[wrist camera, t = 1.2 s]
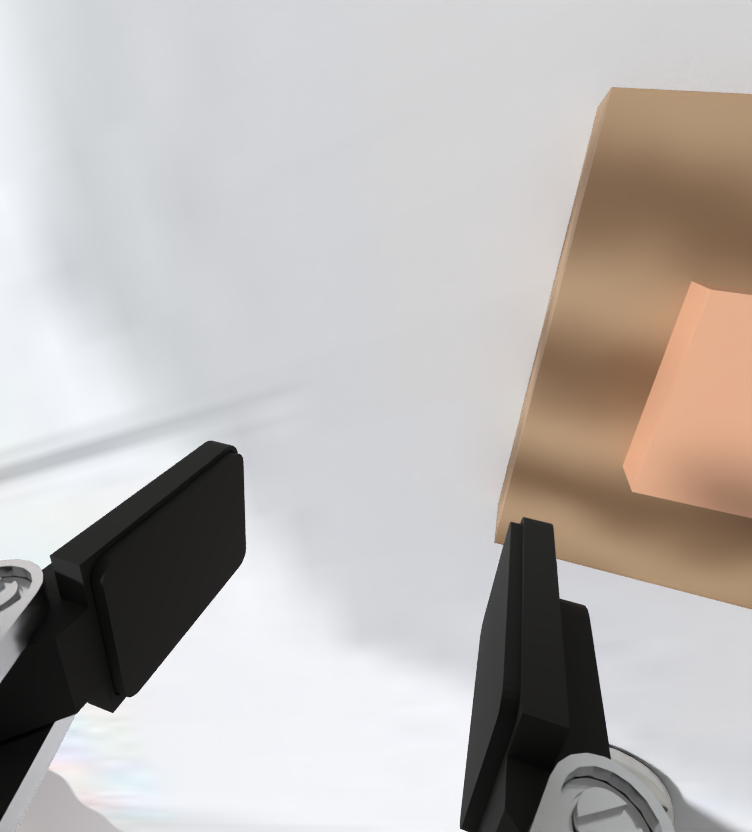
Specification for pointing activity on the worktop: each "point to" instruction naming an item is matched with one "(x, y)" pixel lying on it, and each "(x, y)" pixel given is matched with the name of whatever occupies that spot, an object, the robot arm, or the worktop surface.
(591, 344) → the board
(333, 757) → the worktop surface
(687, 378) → the terracotta tile
